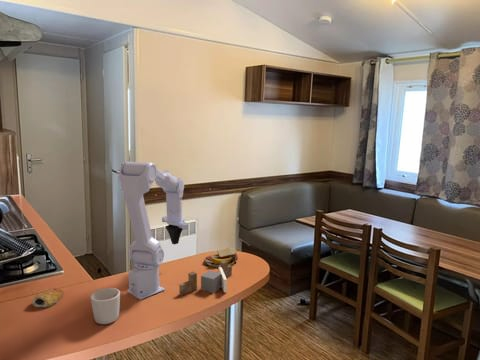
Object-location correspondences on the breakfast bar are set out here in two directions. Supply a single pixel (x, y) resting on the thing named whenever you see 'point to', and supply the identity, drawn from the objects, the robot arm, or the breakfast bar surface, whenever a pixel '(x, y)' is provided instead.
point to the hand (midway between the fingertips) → (175, 243)
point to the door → (223, 279)
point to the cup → (105, 305)
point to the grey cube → (211, 281)
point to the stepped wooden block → (192, 279)
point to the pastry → (47, 298)
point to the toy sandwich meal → (222, 257)
